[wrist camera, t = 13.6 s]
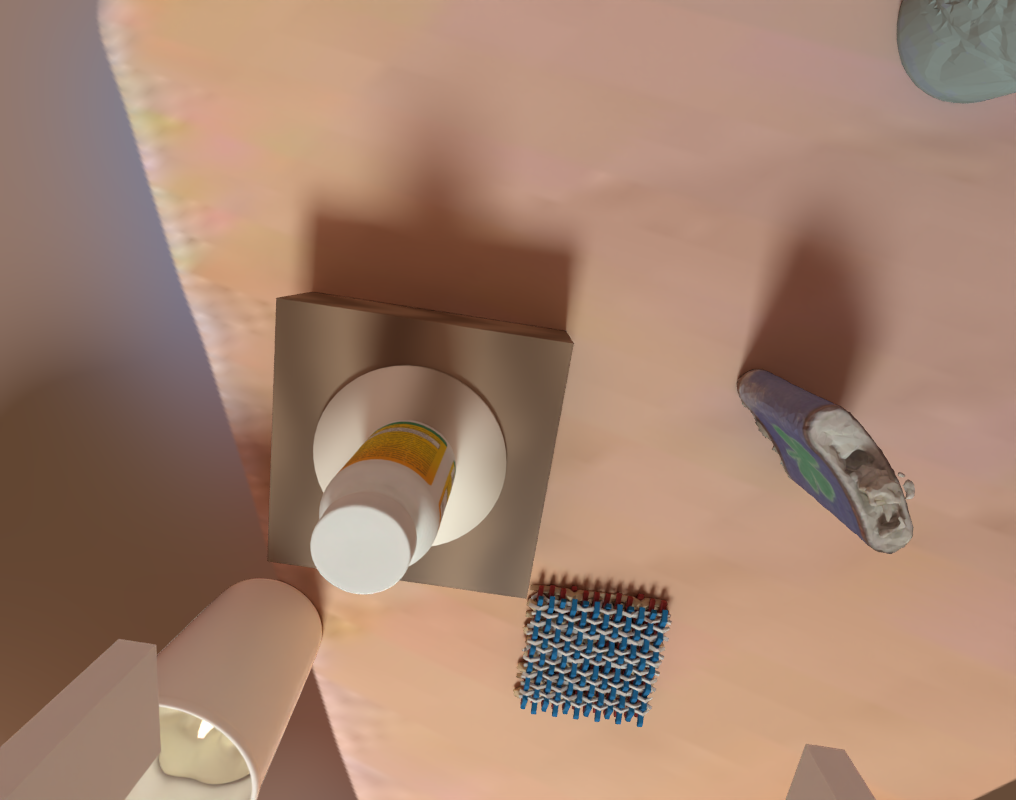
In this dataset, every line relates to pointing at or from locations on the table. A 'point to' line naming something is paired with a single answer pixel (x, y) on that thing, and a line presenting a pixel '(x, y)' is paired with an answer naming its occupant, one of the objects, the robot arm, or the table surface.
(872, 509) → the flask
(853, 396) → the table surface
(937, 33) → the green cylinder
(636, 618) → the woven mat
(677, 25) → the table surface
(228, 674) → the candle holder
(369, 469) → the supplement bottle
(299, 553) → the walnut plinth
